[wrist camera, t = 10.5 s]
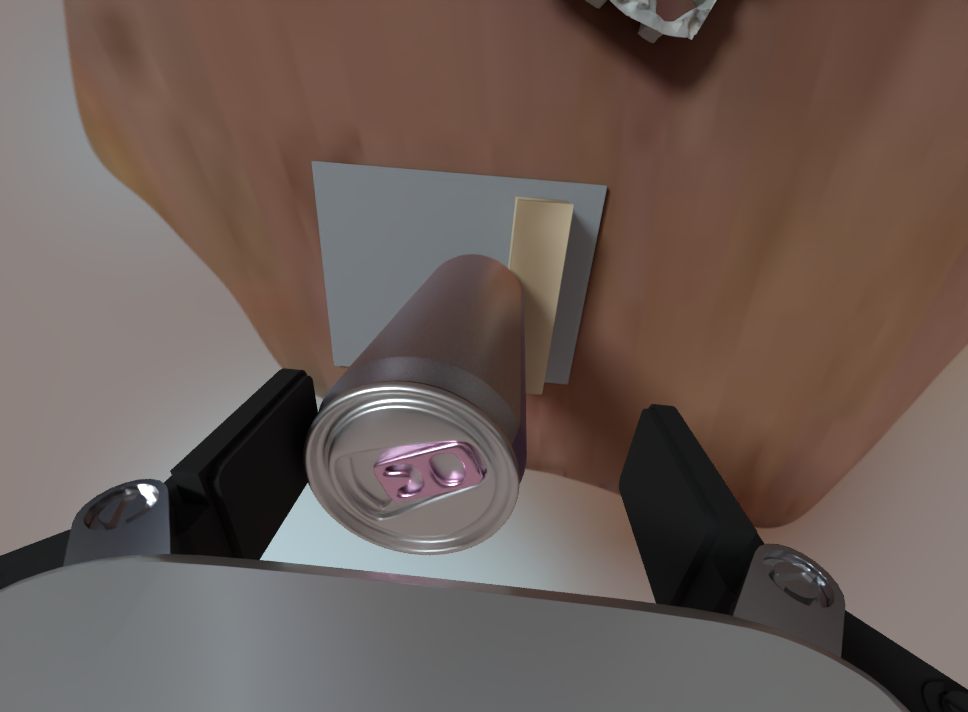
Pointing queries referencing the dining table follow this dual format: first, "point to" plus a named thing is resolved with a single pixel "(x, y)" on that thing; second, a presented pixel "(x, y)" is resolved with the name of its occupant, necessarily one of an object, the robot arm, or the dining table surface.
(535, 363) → the block
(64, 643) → the robot arm
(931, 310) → the dining table surface
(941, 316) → the dining table surface
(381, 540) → the beverage can
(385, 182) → the mat
